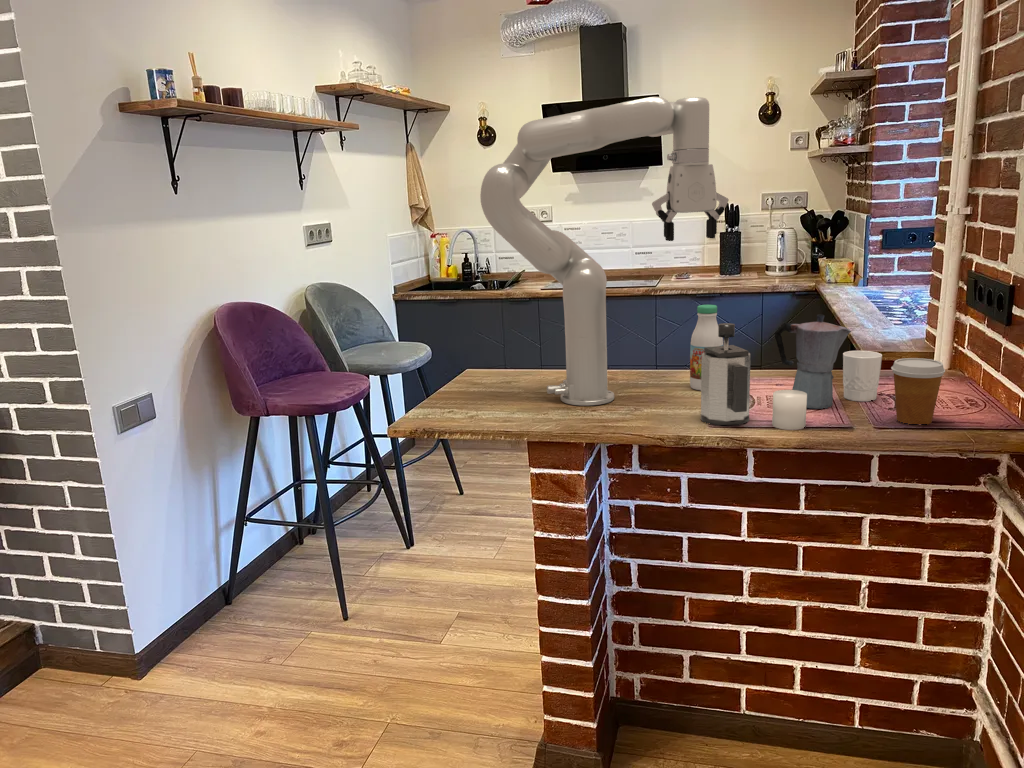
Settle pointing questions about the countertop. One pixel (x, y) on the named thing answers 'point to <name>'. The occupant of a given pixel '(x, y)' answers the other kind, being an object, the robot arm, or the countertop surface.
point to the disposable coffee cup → (916, 389)
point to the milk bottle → (703, 341)
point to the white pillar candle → (789, 409)
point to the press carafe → (725, 385)
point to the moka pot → (814, 358)
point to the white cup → (861, 375)
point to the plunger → (726, 332)
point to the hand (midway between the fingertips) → (690, 239)
